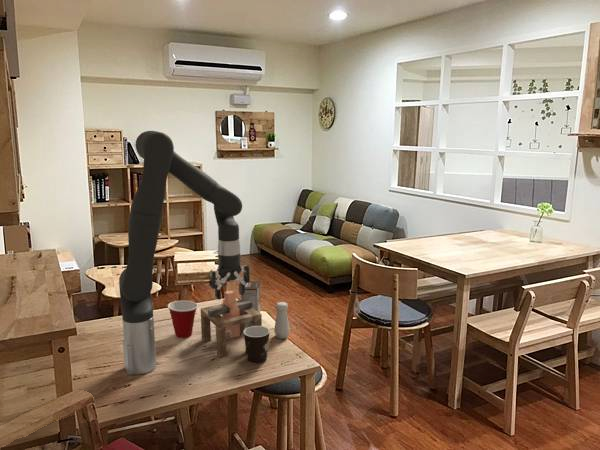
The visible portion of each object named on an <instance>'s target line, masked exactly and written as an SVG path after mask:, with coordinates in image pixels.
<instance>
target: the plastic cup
mask: <svg viewBox="0 0 600 450" xmlns="http://www.w3.org/2000/svg"><path fill="white" fill-rule="evenodd" d="M167 307H168V308H167V309H168V310H169V315H170V317H171V321H172V327H173V330H174V334H175V337H176V338H179V339H186V338H190V337H191V336H192V334H193V328H194V323H195V316H196V313H197V309H198V307H199V304H198V303H197V302H195V301H192V300H175V301H171V302H170V303H168V305H167Z"/></svg>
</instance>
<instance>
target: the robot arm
mask: <svg viewBox="0 0 600 450" xmlns="http://www.w3.org/2000/svg"><path fill="white" fill-rule="evenodd" d="M174 148H175V146H174V143H173V140H172V139H171V137H170V136H169V135H168V134H167V133H164V132H161V131H156V130H146V131H143V132H141V133H140V134H138V136H137V138H136V140H135V150H136V152H137V154H138V155H139V157H141V158H142V159H143V166H142V167H143V168H142V175H141V180H140V183H139V185H138V187H137V190H136V191H135V193H134V196H133V199H132V201H131V206H130V208H129V209H130V211H129V216H128V226H127V228H128V229H127V230H128V233H127V235H128V236H127V237H128V238H127V239H128V242H127V243H128V258H127V264H126V268H125V269H124V270H122V272H121V273H120V276H119V280H118V285H119V299H120V300H119V301H120V308H121V309H120V310H121V316H122V327H123V328H122V329H123V330H122V331H123V340H122V349H123V350H122V352H123V353H122V354H123V363H124V365H123V366H124V368H125V370H126V372H127V374H128V375H129V376H131V375H144V374H148V373H150V372H153V370H155V368H156V367H157V353H156V341H155V340H156V339H155V338H156V337H155V321H154V309H153V301H152V289H153V283H154V282H153V279H154V278H153V276H154V275H153V273H154V259H155V253H156V250H157V245H158V239H159V236H160V235H159V234H160V230H161V224H162V218H163V217H162V216H163V210H164V209H163V208H164V202H165V195H166V187H167V181H168V180H167V179H168V175H169V174H170V175H172V176H173V177H175V178H176V179H177V180H179V181H180V182H181V183H182V184H183V185H185V186H186V187H188V189H190V190H191V191H192V192H193V193H195V194H196V195H197V196H199V197H200V198H202V199H203V200H205V201H206V202H208V203H211V204H213V212H214V216H215V221H216V225H217V228H218V230H217V238H218V239H217V240H218V241H217V261H218V263H217V264H218V265H217V266H218V268H217V269H218V270H212V269H211V270H209V284H208V285H209V287H210V288H211V289H212V290H214V296H215V298H216V299H217V300H219V301H220V300H222V290H221V288H222V286H224V285H225V283H226V282H230V281H235V280H236V281H238V282H239V283H238V293H239V295H240V296H241V295H243V293H244V292H245V283H247V282H250V281H251V277H250V267H249V266H248V265H246V264H242V265H241V241H240V226H239V224H238V222H237V221H236V220H235V218H234V217H235V216H238V215H239V214H240V213H241V212H242V210H243V202H242V200H241V199H240V198H239V196H238V195H237V194H235V193H234V192H232V191H230V190H229V189H227V188H226V187H224V186H222V185H220V184H219V183H218V182H217V181H216V180H215V179H214V178H213V177H211V176H210V175H209V174H207V173H206V172H204V171H203V169H200V168H199V167H197V166H196V165H194V164H193V163H191V162H189V161H187V160H186V159H184V158H183V157H182V156H181V155H179V154H178V152H177V153H176V151H175V149H174ZM241 272H242V273H243V274H242V275H243V277H241V275H240V273H241ZM218 275H219V276H218ZM217 277H218V278H217ZM216 278H217V279H216Z"/></svg>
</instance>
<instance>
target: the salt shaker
mask: <svg viewBox="0 0 600 450" xmlns="http://www.w3.org/2000/svg"><path fill="white" fill-rule="evenodd" d="M275 309H276V311H277V312H276V317H275V323H274V328H273V331H274V334H275V337H276V338H277V339H280V340H284V339H287V338H288V336H289V334H290V333H291V329H290V324H289V323H290V322H289V319H288V314H287V310H288V309H289V305H288V303H287V302H285V301H279V302H277V303H276V304H275Z"/></svg>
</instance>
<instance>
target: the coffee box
mask: <svg viewBox="0 0 600 450" xmlns="http://www.w3.org/2000/svg"><path fill="white" fill-rule="evenodd" d="M240 296H241V300H242V301H244V302H246V301H251V302H252V308H253V309H255V310H256V311H258V312H259V313H261V281H260V280H250V282H247V283H245V292H244V293H243V295H240ZM244 315H245V314H244ZM251 326H252V321H248V322H245V329H246V328H248V327H251Z"/></svg>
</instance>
